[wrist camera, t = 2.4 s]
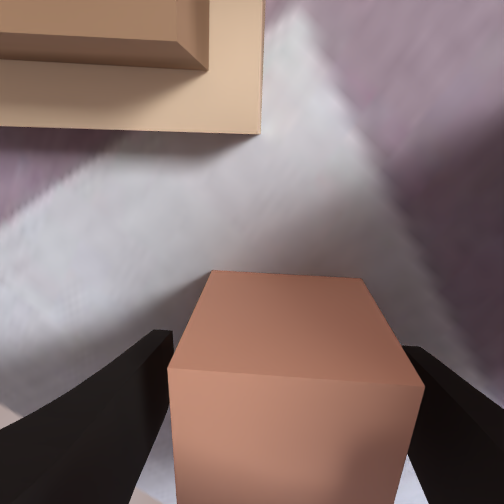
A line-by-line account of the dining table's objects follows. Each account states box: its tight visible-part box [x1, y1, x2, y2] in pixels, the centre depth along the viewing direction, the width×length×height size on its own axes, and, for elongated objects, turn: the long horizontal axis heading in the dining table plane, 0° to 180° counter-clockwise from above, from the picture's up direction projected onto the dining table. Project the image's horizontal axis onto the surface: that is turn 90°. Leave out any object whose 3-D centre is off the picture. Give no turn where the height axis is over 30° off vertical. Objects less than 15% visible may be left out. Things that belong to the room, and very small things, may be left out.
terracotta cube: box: [167, 270, 425, 504], centre depth 10 cm, size 5×5×5 cm
